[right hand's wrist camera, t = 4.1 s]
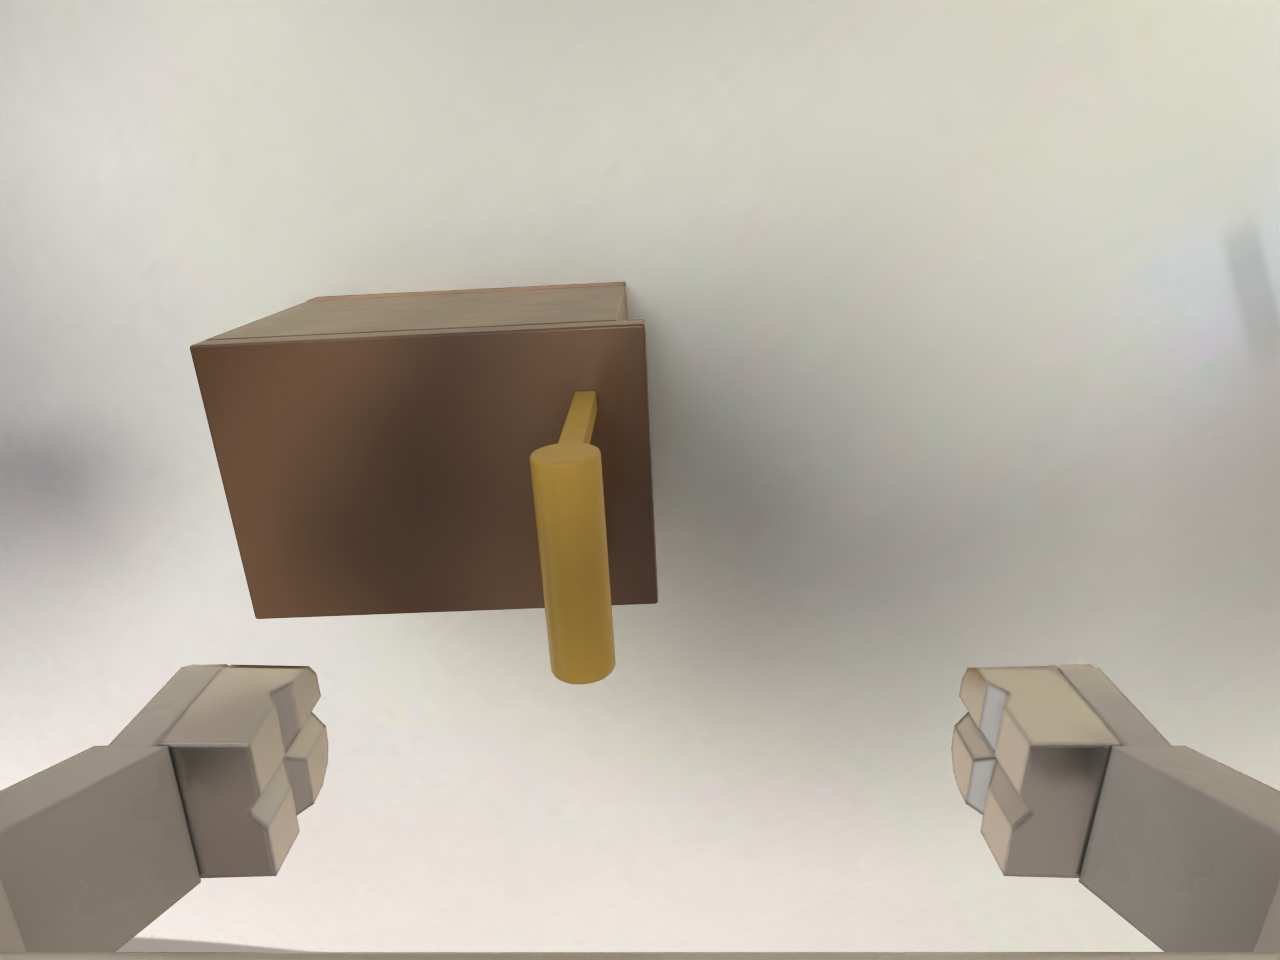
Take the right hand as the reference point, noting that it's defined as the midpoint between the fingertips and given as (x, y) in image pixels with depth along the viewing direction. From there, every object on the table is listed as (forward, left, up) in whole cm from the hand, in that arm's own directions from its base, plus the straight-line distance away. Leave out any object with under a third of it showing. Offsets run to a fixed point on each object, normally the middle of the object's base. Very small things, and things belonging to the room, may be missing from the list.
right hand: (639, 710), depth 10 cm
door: (+1, +8, -18) cm, 20 cm away
